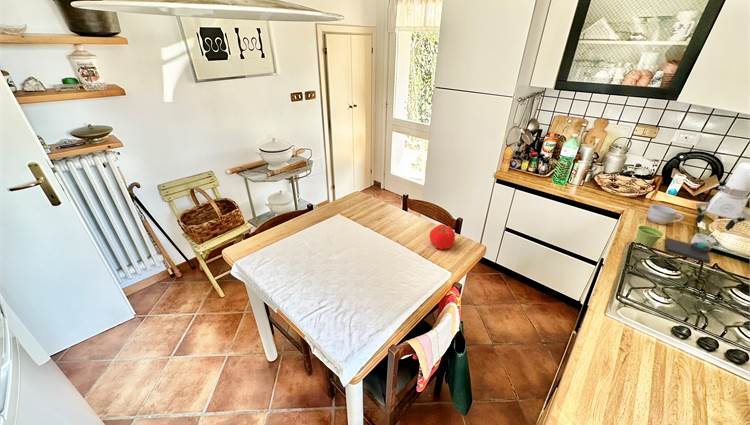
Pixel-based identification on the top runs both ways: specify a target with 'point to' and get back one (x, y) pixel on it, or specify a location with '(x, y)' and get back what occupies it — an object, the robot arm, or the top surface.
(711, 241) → the bowl
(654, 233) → the plant pot
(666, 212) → the teacup
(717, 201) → the robot arm
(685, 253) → the scale
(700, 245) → the tare button
